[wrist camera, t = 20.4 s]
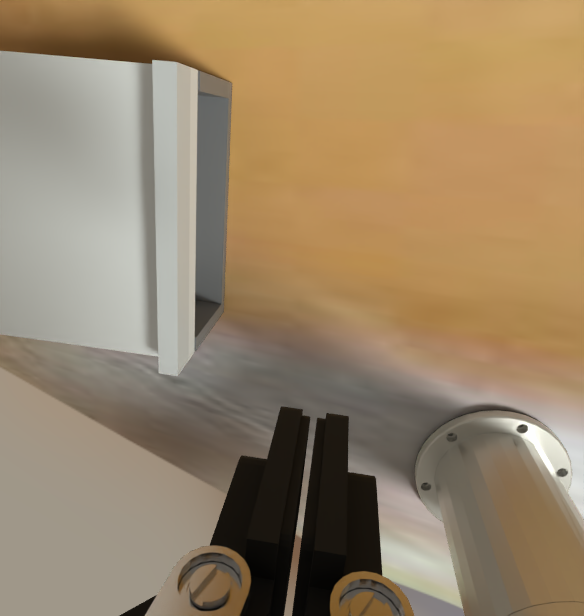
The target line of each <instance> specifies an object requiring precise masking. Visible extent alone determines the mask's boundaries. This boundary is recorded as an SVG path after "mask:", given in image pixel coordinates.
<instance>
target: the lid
mask: <svg viewBox="0 0 584 616" xmlns="http://www.w3.org/2000/svg"><path fill="white" fill-rule="evenodd" d="M197 102H198V70H196V69H194V68H191V67H188V66H186V65H183V64H181V63H178V62H170V61H159V60H152V64H147V63H135V62H124V61H112V60H101V59H90V58H78V57H67V56H55V55H44V54H32V53H21V52H10V51H0V334H1V335H8V336H15V337H22V338H29V339H36V340H43V341H50V342H57V343H65V344H72V345H79V346H86V347H93V348H100V349H107V350H114V351H121V352H128V353H136V354H143V355H150V356H157V357H158V369H159V374H166V375H173V376H178V375H179V374H180V372H181V371H182V369H183V368H184V367H185V365H186V364H187V362H188V361H189V360H190V358H191V357H192V355H193V354H194V346H195V265H196V184H197Z"/></svg>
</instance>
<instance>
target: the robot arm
mask: <svg viewBox="0 0 584 616" xmlns="http://www.w3.org/2000/svg"><path fill="white" fill-rule="evenodd" d="M302 412H303V410H302V409H295V408H288V407H281V408H280V412H279V416H278V420H277V423H276V427H275V431H274V435H273V439H272V443H271V446H270V450H269V454H268V458H267V459H261V458H254V457H248V456H241V457H240V459H239V462H238V465H237V468H236V471H235V473H234V476H233V479H232V482H231V485H230V488H229V491H228V494H227V497H226V500H225V503H224V505H223V508H222V511H221V514H220V517H219V520H218V523H217V526H216V529H215V531H214V534H213V537H212V540H211V543H210V546H203V547H200V548H198V549H195V550H192V551H190V552H189V553H188V554H186V555H185V556H183V557H182V558H181V559H180V560H179V561H178V562H177V564H176V565H175V566H174V567H173V569H172V571H171V572H170V574H169V576H168V578H167V579H166V581H165V582H164V584H163V586H162V588H161V589H160V591H159V593H158V594H157V595H156V596H154V597H152V598H150V599H149V600H147V601H145V602H143V603H141V604H139V605H138V606H136V607H135V608H132V609H131V610H129V611H127V612H125V613H123V614H121V615H120V616H284V610H285V604H286V597H287V590H288V583H289V576H290V569H291V562H292V554H293V547H294V540H295V534H296V527H297V520H298V512H299V505H300V497H301V489H302V481H303V473H304V465H305V456H306V448H307V440H308V432H309V424H310V417H309V416H302ZM348 425H349V417H348V416H343V415H336V414H329V413H327V414H326V419H322V418H317V424H316V432H315V440H314V447H313V455H312V463H311V470H310V478H309V486H308V493H307V501H306V509H305V517H304V525H303V533H302V541H301V550H300V557H299V565H298V573H297V581H296V589H295V597H294V604H293V613H292V616H414V613H413V610H412V608H411V605H410V603H409V600H408V598H407V597H406V596H405V594H404V593H403V592H402V590H401V589H400V588H399V587H398V586H397V585H396V584H394V583H393V582H392V581H391V580H389V579H388V578H386V577H383V576H382V564H381V549H380V533H379V518H378V503H377V487H376V478H375V476H369V475H363V474H357V473H350V472H348ZM571 480H572V466H571V461H570V458H569V456H568V453H567V451H566V449H565V448H564V446H563V444H562V443H561V441H560V440H559V439H558V437H557V436H556V435H555V434H554V433H553V432H552V431H551V430H550V429H549V428H547V427H546V426H545V425H543V424H542V423H541V422H539V421H537V420H535V419H533V418H531V417H528V416H526V415H522V414H519V413H515V412H509V411H499V410H492V411H480V412H475V413H470V414H466V415H463V416H461V417H458V418H456V419H453V420H451V421H450V422H448V423H446V424H444V425H443V426H441V427H440V428H439V429H437V430H436V431H435V432H434V433H433V434H432V435H430V437H429V438H428V439H427V440H426V442H425V443H424V444H423V446H422V448H421V450H420V452H419V454H418V456H417V460H416V464H415V481H416V486H417V490H418V493H419V496H420V498H421V500H422V502H423V503H424V505H425V506H426V508H427V509H428V510H429V511H430V512H431V513H432V514H433V515H434V516H435V517H436V518H437V519H439V520H440V521H442V522H443V523H444V528H445V532H446V536H447V541H448V545H449V550H450V554H451V558H452V563H453V567H454V571H455V576H456V580H457V584H458V589H459V593H460V597H461V602H462V606H463V611H464V615H465V616H584V519H583V517H582V515H581V514H580V512H579V510H578V509H577V507H576V505H575V504H574V502H573V500H572V499H571V497H570V495H569V494H568V491H569V488H570V486H571Z"/></svg>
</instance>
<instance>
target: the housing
mask: <svg viewBox="0 0 584 616" xmlns="http://www.w3.org/2000/svg"><path fill="white" fill-rule="evenodd" d="M231 102H232V83H231V82H228V81H225V80H223V79H220V78H217V77H215V76H212V75H210V74H207V73H204V72H202V71H198V102H197V184H196V265H195V346H194V350H195V351H196V350H197V349H198V347H199V346H200V345H201V343H202V342H203V340H204V339H205V338H206V336H207V335H208V333H209V332H210V330H211V329H212V328H213V326H214V325H215V323H216V322H217V321H218V319H219V318H220V316H221V315H222V314H223V312H224V290H225V263H226V236H227V209H228V182H229V156H230V129H231Z"/></svg>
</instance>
